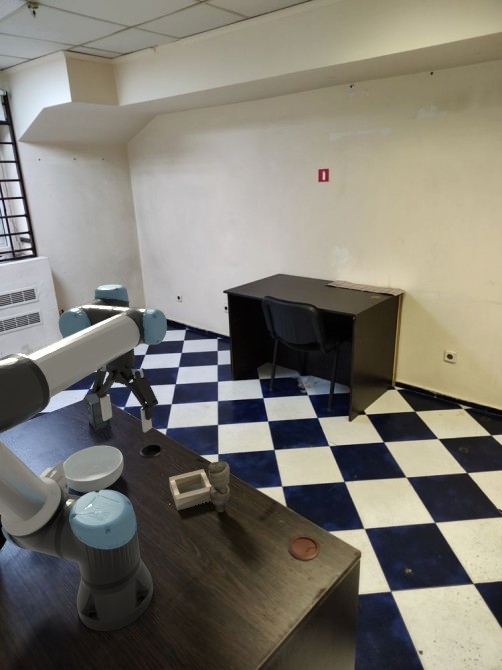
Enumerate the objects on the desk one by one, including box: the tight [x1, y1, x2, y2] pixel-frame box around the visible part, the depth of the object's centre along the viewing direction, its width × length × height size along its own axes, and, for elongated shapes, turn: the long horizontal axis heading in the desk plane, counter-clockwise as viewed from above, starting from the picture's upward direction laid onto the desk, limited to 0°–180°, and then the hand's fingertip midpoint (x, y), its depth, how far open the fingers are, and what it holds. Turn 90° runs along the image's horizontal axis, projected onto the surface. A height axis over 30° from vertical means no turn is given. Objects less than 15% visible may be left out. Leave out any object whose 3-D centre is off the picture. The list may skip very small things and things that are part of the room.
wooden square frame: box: [168, 468, 212, 511], centre depth 123 cm, size 10×10×4 cm
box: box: [84, 393, 111, 431], centre depth 160 cm, size 8×6×11 cm
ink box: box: [38, 459, 70, 494], centre depth 115 cm, size 9×5×15 cm, turn 168°
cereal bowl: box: [63, 445, 124, 494], centre depth 129 cm, size 17×17×7 cm
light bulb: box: [207, 461, 231, 513], centre depth 114 cm, size 6×6×15 cm
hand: (127, 424), depth 117 cm, fingers open, 13 cm apart
